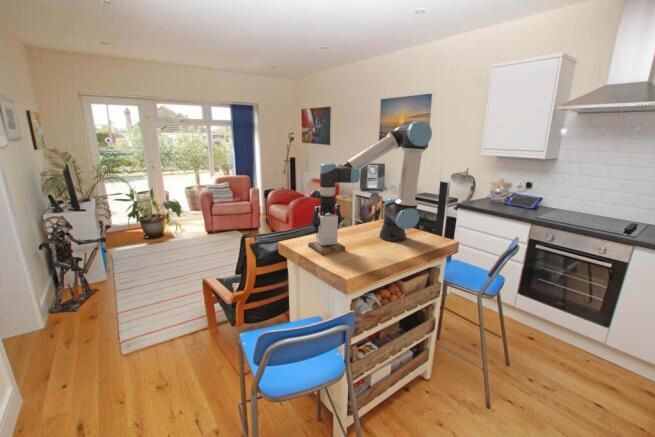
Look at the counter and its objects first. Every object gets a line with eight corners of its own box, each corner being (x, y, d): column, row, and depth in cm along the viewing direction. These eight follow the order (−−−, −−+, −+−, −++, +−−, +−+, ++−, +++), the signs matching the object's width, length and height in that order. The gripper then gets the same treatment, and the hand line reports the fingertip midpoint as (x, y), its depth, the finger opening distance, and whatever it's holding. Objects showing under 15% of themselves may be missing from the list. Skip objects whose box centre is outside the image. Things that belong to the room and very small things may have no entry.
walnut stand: (330, 242, 170) (330, 238, 170) (345, 250, 159) (345, 245, 158) (308, 246, 163) (308, 242, 163) (321, 255, 152) (321, 250, 151)
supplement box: (337, 244, 157) (338, 215, 153) (321, 245, 155) (321, 217, 151) (331, 238, 166) (332, 211, 162) (315, 240, 163) (316, 212, 159)
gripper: (341, 191, 162) (340, 232, 168) (304, 195, 151) (304, 238, 157) (350, 194, 156) (348, 235, 162) (311, 198, 145) (311, 243, 151)
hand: (326, 237), depth 159 cm, fingers closed on supplement box, 10 cm apart
